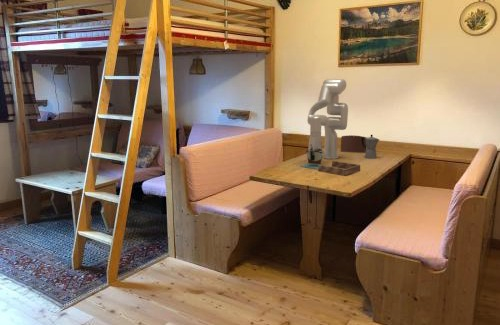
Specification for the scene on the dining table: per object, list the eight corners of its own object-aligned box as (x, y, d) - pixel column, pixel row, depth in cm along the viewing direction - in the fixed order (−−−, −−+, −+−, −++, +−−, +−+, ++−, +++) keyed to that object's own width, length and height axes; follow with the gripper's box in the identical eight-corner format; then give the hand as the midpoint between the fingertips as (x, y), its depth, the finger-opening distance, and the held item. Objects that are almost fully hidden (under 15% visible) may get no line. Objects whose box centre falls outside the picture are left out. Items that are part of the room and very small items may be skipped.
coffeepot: (381, 157, 315) (382, 134, 311) (375, 159, 308) (376, 136, 304) (363, 155, 325) (364, 132, 322) (357, 157, 319) (358, 134, 315)
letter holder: (364, 153, 335) (365, 136, 332) (340, 151, 342) (341, 135, 339) (366, 150, 344) (367, 134, 341) (342, 149, 351) (342, 133, 348)
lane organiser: (318, 170, 276) (318, 165, 275) (333, 166, 289) (333, 160, 288) (345, 175, 262) (346, 169, 261) (360, 170, 275) (360, 164, 274)
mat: (300, 166, 290) (300, 165, 290) (310, 163, 299) (310, 162, 298) (319, 169, 279) (319, 169, 279) (329, 166, 288) (329, 166, 288)
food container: (325, 162, 289) (325, 148, 286) (322, 164, 284) (322, 150, 281) (309, 161, 295) (308, 147, 292) (306, 163, 290) (305, 149, 287)
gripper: (318, 132, 293) (317, 156, 296) (303, 135, 280) (303, 160, 284) (327, 133, 288) (326, 158, 291) (312, 136, 275) (312, 162, 279)
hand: (315, 159), depth 288 cm, fingers closed on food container, 6 cm apart
